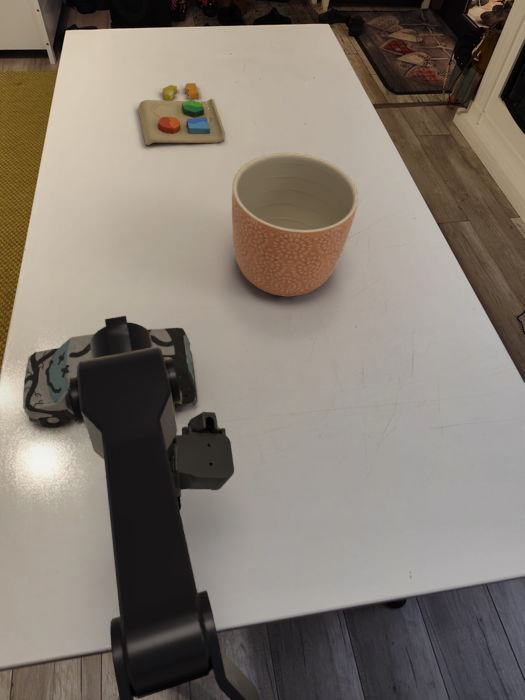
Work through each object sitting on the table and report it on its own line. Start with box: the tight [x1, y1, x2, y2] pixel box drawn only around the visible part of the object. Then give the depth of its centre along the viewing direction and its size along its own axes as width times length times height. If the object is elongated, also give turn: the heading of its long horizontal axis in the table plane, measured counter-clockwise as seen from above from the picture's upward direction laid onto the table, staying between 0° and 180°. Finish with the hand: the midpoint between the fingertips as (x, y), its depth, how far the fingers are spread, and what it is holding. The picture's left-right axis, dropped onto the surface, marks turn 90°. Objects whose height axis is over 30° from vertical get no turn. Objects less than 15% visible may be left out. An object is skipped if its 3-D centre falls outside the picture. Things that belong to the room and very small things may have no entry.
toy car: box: [22, 327, 199, 429], centre depth 78 cm, size 11×25×10 cm, turn 100°
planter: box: [231, 152, 359, 297], centre depth 93 cm, size 21×21×19 cm
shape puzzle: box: [138, 82, 226, 146], centre depth 128 cm, size 25×19×3 cm
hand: (155, 505), depth 60 cm, fingers closed
